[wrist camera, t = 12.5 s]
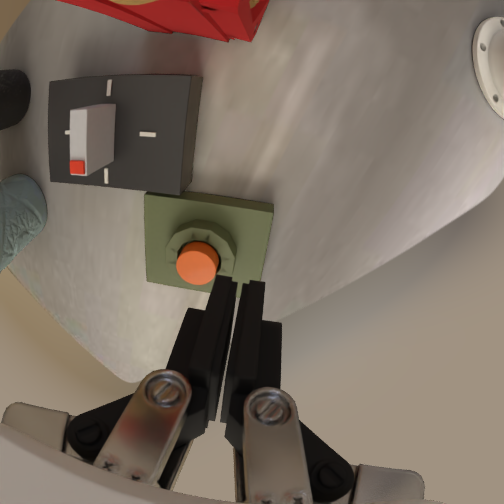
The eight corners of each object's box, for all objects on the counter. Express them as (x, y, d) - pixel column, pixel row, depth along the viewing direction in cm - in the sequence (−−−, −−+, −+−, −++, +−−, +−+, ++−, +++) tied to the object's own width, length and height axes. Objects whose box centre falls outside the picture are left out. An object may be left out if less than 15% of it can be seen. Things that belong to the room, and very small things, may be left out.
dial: (100, 103, 20) (67, 110, 16) (116, 103, 21) (85, 109, 16) (98, 159, 23) (68, 176, 19) (114, 160, 23) (85, 177, 19)
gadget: (203, 77, 23) (191, 75, 19) (191, 181, 28) (179, 196, 24) (72, 79, 23) (48, 81, 19) (71, 170, 28) (49, 182, 24)
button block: (273, 204, 29) (273, 221, 25) (257, 288, 34) (255, 311, 30) (152, 186, 28) (136, 201, 25) (153, 270, 33) (141, 291, 30)
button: (220, 244, 27) (217, 254, 25) (217, 277, 29) (214, 288, 27) (181, 238, 27) (176, 247, 25) (180, 271, 29) (175, 281, 27)
